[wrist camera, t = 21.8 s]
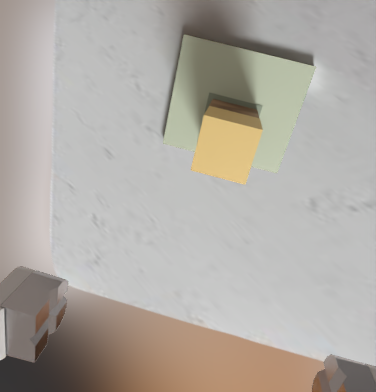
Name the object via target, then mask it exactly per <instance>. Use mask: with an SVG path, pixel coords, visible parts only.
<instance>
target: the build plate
mask: <svg viewBox="0 0 376 392" xmlns="http://www.w3.org/2000/svg"><path fill="white" fill-rule="evenodd" d="M315 69H316V67H315V66H311V65H307V64H303V63H299V62H295V61H291V60H287V59H283V58H279V57H275V56H271V55H267V54H263V53H258V52H254V51H250V50H246V49H242V48H238V47H234V46H230V45H226V44H222V43H218V42H214V41H210V40H206V39H201V38H197V37H193V36H189V35H185V34H184V36H183V41H182V46H181V51H180V57H179V62H178V67H177V72H176V77H175V83H174V88H173V93H172V98H171V103H170V108H169V114H168V119H167V124H166V129H165V134H164V140H163V144H166V145H170V146H174V147H178V148H182V149H186V150H189V151H193V152H195V150H196V146H197V142H198V137H199V133H200V129H201V125H202V121H203V116H204V114H205V112H206V110H207V109H208V107H209V105H210V103H211V101H212V100H213V99H216V100H220V101H224V102H228V103H232V104H236V105H240V106H244V107H248V108H252V109H256V110H257V111H258V115H259V118H260V121H261V125H262V128H263V131H262V135H261V138H260V141H259V144H258V147H257V150H256V153H255V156H254V159H253V162H252V165H251V167H254V168H258V169H262V170H266V171H270V172H274V173H277V172H278V169H279V167H280V164H281V161H282V159H283V156H284V153H285V150H286V148H287V145H288V142H289V139H290V137H291V134H292V131H293V129H294V126H295V123H296V120H297V118H298V115H299V112H300V110H301V107H302V104H303V101H304V99H305V96H306V93H307V90H308V88H309V85H310V82H311V80H312V77H313V74H314V71H315Z"/></svg>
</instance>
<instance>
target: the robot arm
mask: <svg viewBox="0 0 376 392" xmlns="http://www.w3.org/2000/svg"><path fill="white" fill-rule="evenodd" d="M67 290H68V281H67V280H66V279H62V278H59V277H56V276H53V275H49V274H46V273H43V272H40V271H35V270H32V269H29V268H26V267H23V266H20V267H18V268H16V269H15V270H13V271H12V272H11V273H10V274H9V275H8V276H7V277H6V278H5V279H4V280H3V281H2V282H1V283H0V360H2V359H3V358H5V357H6V355H8V356H12V357H16V358H19V359H23V360H27V361H31V362H35V361H36V360H37V358H38V357H39V355H40V354H41V352H42V351H43V349H44V348H45V346H46V345H47V343H48V335H49V334H51V333H53V332H55V331H56V330H57V328H58V327H59V325H60V324H61V321H62V319H63V317H64V314H65V311H66V306H67V300H66V298H65V297H64V294H65V293H66V292H67ZM324 366H325V369H324V370H322V371H319V372H318V373H317V375H316V376H315V378H314V381H313V386H312V392H376V366H372V365H368V364H363V363H361V362H357V361H354V360H350V359H346V358H343V357H339V356H335V355H332V354H331V355H329V356H327V358H326V359H325V361H324Z"/></svg>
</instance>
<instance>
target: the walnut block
mask: <svg viewBox="0 0 376 392" xmlns="http://www.w3.org/2000/svg"><path fill="white" fill-rule="evenodd" d="M209 106H213V107H216V108H220V109H224V110H228V111H232V112H236V113H240V114H244V115H248V116H252V117H256V118H259V115H258V111H257V110H256V109H252V108H248V107H244V106H240V105H236V104H232V103H228V102H224V101H220V100H216V99H213V100H212V101H211V103H210V105H209Z"/></svg>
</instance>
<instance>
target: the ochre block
mask: <svg viewBox="0 0 376 392" xmlns="http://www.w3.org/2000/svg"><path fill="white" fill-rule="evenodd" d="M262 131H263V128H262V125H261V121H260V118H256V117H252V116H248V115H244V114H240V113H236V112H232V111H228V110H224V109H220V108H216V107H213V106H209V107H208V109H207V110H206V112H205V114H204V116H203V121H202V125H201V129H200V133H199V137H198V142H197V146H196V150H195V154H194V158H193V162H192V167H191V170H192V171H196V172H199V173H203V174H207V175H211V176H215V177H218V178H222V179H226V180H230V181H234V182H237V183H241V184H246V181H247V178H248V175H249V171H250V168H251V165H252V162H253V159H254V156H255V153H256V150H257V147H258V144H259V141H260V138H261V135H262Z"/></svg>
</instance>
